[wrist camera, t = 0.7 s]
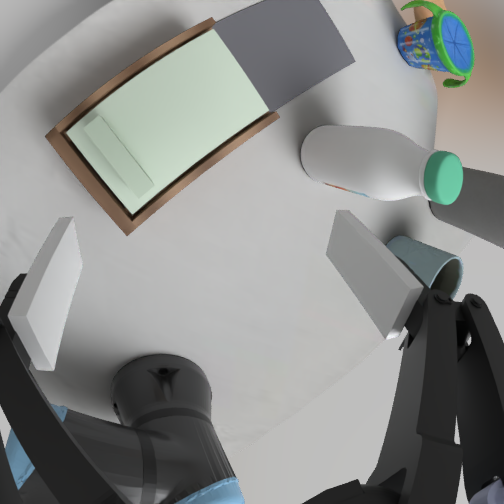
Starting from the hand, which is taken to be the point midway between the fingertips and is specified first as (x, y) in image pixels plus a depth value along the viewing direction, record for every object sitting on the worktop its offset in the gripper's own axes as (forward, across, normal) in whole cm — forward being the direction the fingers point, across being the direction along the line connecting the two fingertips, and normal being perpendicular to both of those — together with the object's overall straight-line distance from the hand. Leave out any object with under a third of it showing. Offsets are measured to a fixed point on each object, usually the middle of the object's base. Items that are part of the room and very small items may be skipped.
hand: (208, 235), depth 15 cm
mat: (+26, -11, -12) cm, 31 cm away
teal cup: (+22, -35, +19) cm, 45 cm away
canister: (+27, -47, +7) cm, 54 cm away
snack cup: (+30, -34, -18) cm, 49 cm away
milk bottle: (+24, -17, +2) cm, 30 cm away
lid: (+16, +2, -3) cm, 17 cm away
